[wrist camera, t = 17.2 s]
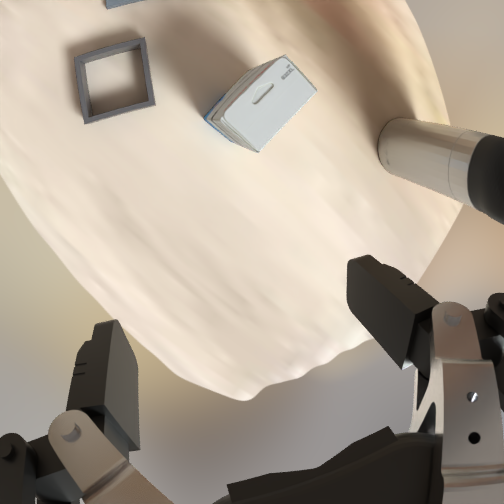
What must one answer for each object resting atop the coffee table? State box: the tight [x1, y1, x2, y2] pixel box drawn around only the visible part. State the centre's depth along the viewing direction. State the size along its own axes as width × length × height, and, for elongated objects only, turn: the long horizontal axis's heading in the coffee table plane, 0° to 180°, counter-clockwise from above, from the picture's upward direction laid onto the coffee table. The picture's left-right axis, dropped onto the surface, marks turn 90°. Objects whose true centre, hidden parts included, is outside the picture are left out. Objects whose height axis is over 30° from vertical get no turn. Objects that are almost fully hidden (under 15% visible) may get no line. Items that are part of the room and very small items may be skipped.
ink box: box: [204, 54, 317, 153], centre depth 30 cm, size 8×5×12 cm, turn 136°
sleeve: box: [74, 37, 156, 124], centre depth 29 cm, size 8×8×2 cm
